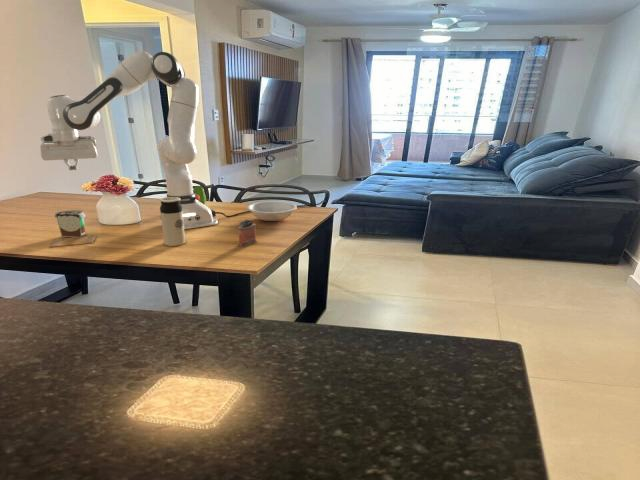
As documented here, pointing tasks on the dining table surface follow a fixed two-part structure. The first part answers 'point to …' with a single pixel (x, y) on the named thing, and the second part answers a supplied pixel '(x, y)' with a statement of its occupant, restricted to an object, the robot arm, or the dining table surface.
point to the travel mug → (172, 221)
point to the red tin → (246, 232)
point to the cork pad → (73, 241)
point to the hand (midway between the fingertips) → (73, 169)
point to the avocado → (200, 194)
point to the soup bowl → (271, 210)
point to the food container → (71, 223)
